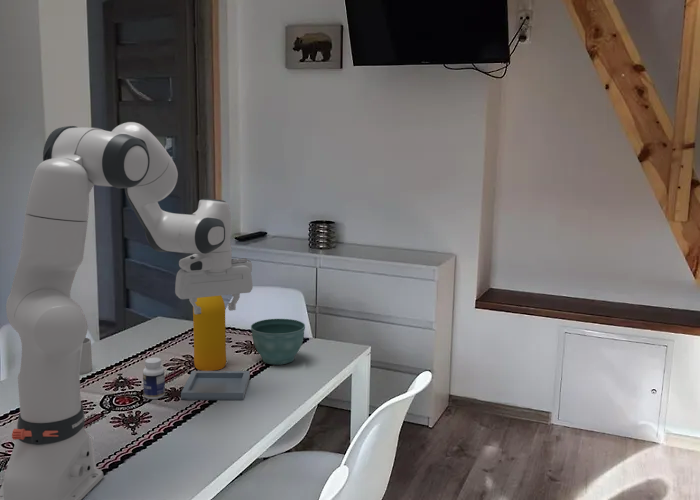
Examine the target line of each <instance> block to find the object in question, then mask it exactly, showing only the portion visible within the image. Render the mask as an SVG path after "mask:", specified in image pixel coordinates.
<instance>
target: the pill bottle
mask: <svg viewBox="0 0 700 500" xmlns="http://www.w3.org/2000/svg"><path fill="white" fill-rule="evenodd" d="M144 365H145V367H144V368H143V370H142V385H143V397H144V398H145V399H148V400H157V399H161V398H163V397H164V396H165V393H166V386H165V383H166V381H165V368H164V367H163V366H162V359H161V358H160V357H149V358H147V359H145V360H144Z"/></svg>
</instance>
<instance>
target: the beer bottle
mask: <svg viewBox="0 0 700 500" xmlns="http://www.w3.org/2000/svg"><path fill="white" fill-rule="evenodd" d="M195 304H196V305H197V306H199V307H201V314H196V315H195V314H194V307H193V306H192V316H193V318H192V320H193V324H192V325H193V363H194V367H195V368H196V370H197V371H221V370H222V369H224V368H225V366H226V365H227V350H226V349H227V348H226V347H227V346H226V345H227V343H226V342H227V340H226V339H227V338H226V337H227V335H226V334H227V333H226V306H225V301H224V298H223V295H220V296H211V297H201V298H197V302H195Z"/></svg>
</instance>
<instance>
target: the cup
mask: <svg viewBox="0 0 700 500" xmlns="http://www.w3.org/2000/svg"><path fill="white" fill-rule="evenodd" d="M92 354H93V353H92V339H91V338H89V337H87V336H86V337H85V340H84V341H83V347H82V354H81V360H80V371H79V376H80V375H86V374H89V373H90V372H91V371H92V370H93V359H92V358H93V357H92V356H93V355H92Z"/></svg>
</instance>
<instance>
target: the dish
mask: <svg viewBox="0 0 700 500" xmlns="http://www.w3.org/2000/svg"><path fill="white" fill-rule="evenodd" d="M250 373H251V372H250V370H216V371H201V370H192V371H191V372H190V375H188V376H189V377H188V379H187V380H186V382H185V384H184V386H183V388H182V389H181V392H180V400H181V401H244V400H245V397H246V393H247V389H248V385H249V383H250V378H251V374H250Z"/></svg>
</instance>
